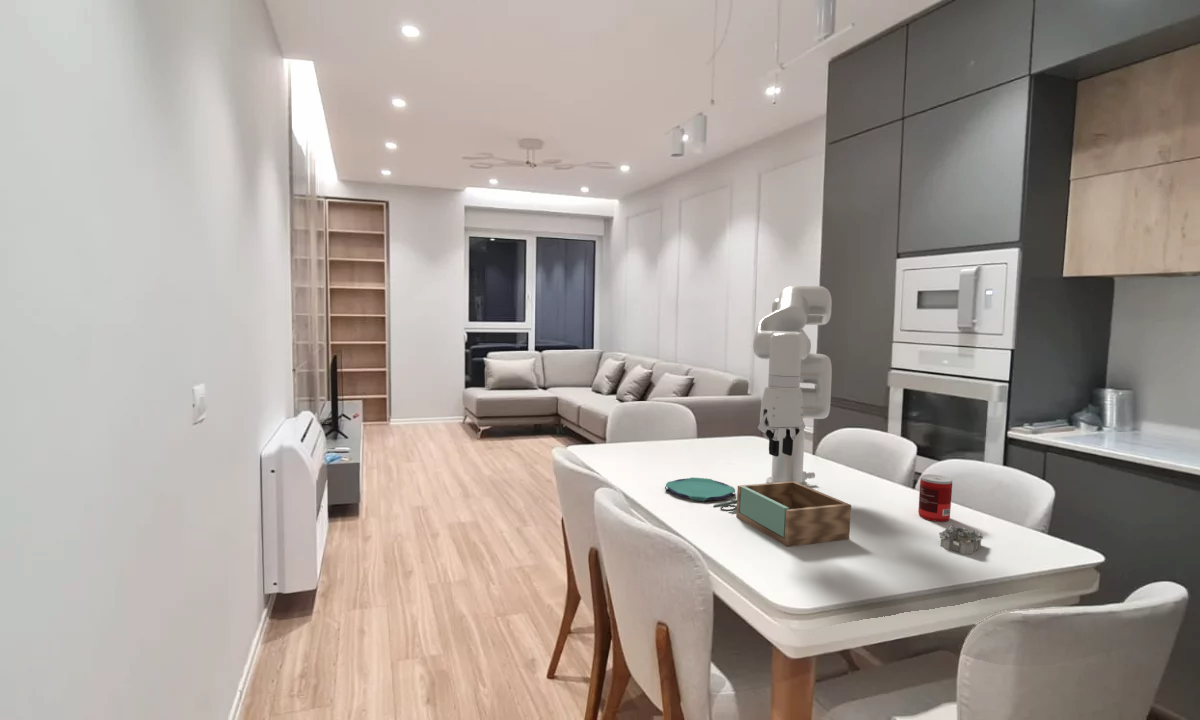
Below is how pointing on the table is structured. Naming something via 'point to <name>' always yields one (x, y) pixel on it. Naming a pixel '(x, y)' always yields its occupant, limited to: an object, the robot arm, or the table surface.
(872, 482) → the table surface
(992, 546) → the table surface
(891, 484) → the table surface
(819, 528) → the crate
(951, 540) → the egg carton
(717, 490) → the teal flat rounded piece
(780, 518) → the panel
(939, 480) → the canned food
